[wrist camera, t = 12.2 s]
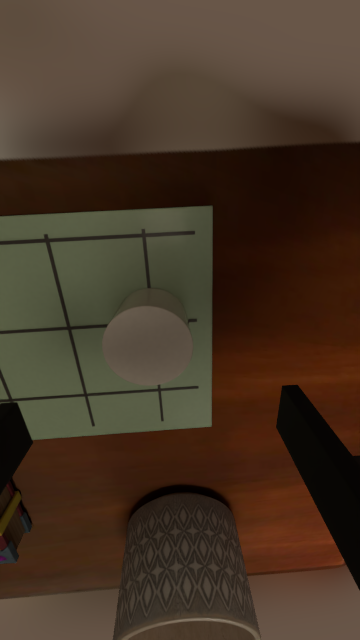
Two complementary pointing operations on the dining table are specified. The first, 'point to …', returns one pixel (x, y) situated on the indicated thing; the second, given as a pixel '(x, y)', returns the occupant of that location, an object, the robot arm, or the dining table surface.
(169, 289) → the board
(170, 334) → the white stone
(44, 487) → the dining table surface
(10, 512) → the decorative book
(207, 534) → the planter
